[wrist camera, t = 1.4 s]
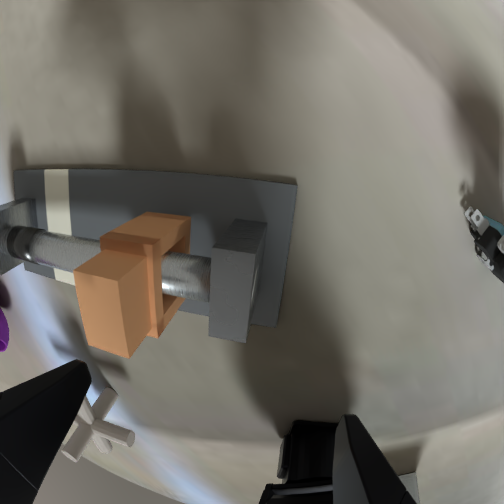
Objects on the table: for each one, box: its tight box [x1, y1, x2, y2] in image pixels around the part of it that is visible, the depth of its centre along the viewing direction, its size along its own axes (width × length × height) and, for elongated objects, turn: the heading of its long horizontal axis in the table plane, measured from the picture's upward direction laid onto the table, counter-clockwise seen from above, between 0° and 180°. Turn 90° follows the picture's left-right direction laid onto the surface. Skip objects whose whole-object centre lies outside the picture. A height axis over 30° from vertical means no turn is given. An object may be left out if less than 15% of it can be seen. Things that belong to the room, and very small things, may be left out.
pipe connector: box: [62, 387, 135, 462], centre depth 23 cm, size 10×10×10 cm
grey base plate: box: [14, 169, 298, 328], centre depth 20 cm, size 25×10×1 cm, turn 84°
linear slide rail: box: [0, 198, 268, 343], centre depth 18 cm, size 22×5×5 cm, turn 84°
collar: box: [73, 212, 191, 359], centre depth 15 cm, size 3×5×8 cm, turn 174°
